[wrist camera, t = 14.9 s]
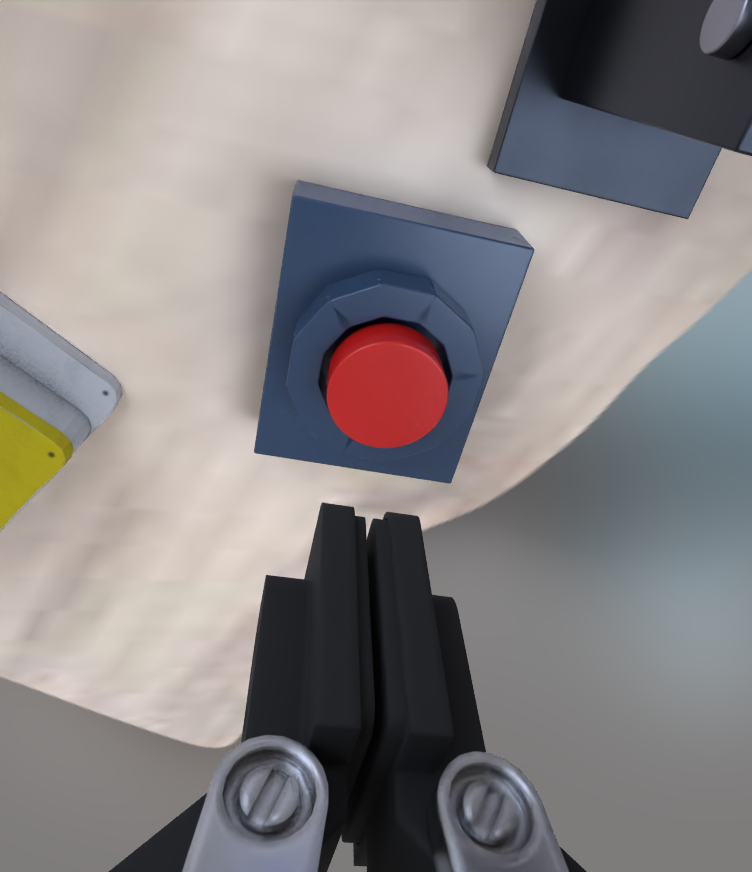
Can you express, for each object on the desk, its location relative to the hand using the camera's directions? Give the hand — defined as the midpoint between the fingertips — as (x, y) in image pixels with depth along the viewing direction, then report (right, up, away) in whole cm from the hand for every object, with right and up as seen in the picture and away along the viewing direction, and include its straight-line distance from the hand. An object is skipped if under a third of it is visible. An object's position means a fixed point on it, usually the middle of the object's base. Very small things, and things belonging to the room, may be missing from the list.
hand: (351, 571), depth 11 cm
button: (+1, +5, +13) cm, 14 cm away
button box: (+1, +7, +17) cm, 18 cm away
